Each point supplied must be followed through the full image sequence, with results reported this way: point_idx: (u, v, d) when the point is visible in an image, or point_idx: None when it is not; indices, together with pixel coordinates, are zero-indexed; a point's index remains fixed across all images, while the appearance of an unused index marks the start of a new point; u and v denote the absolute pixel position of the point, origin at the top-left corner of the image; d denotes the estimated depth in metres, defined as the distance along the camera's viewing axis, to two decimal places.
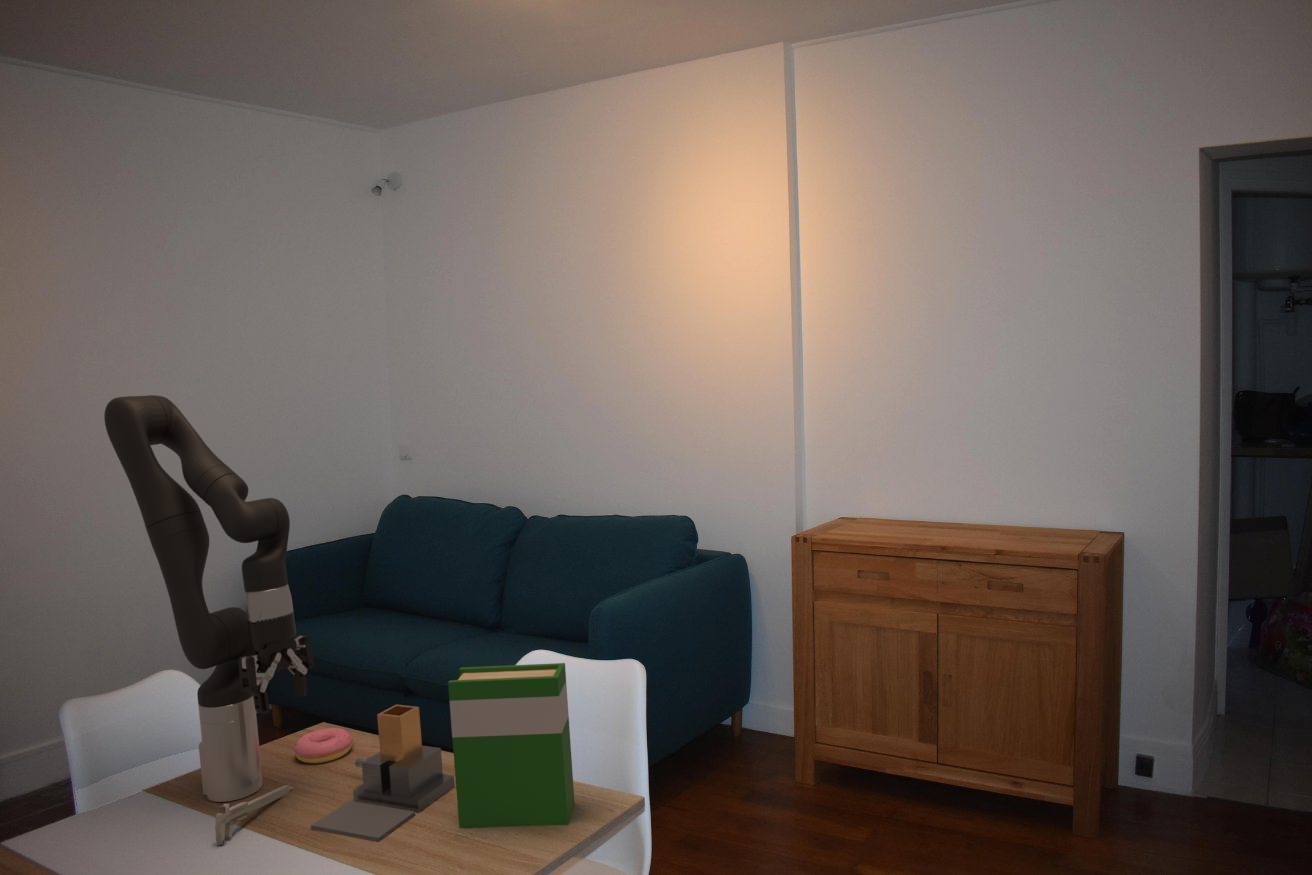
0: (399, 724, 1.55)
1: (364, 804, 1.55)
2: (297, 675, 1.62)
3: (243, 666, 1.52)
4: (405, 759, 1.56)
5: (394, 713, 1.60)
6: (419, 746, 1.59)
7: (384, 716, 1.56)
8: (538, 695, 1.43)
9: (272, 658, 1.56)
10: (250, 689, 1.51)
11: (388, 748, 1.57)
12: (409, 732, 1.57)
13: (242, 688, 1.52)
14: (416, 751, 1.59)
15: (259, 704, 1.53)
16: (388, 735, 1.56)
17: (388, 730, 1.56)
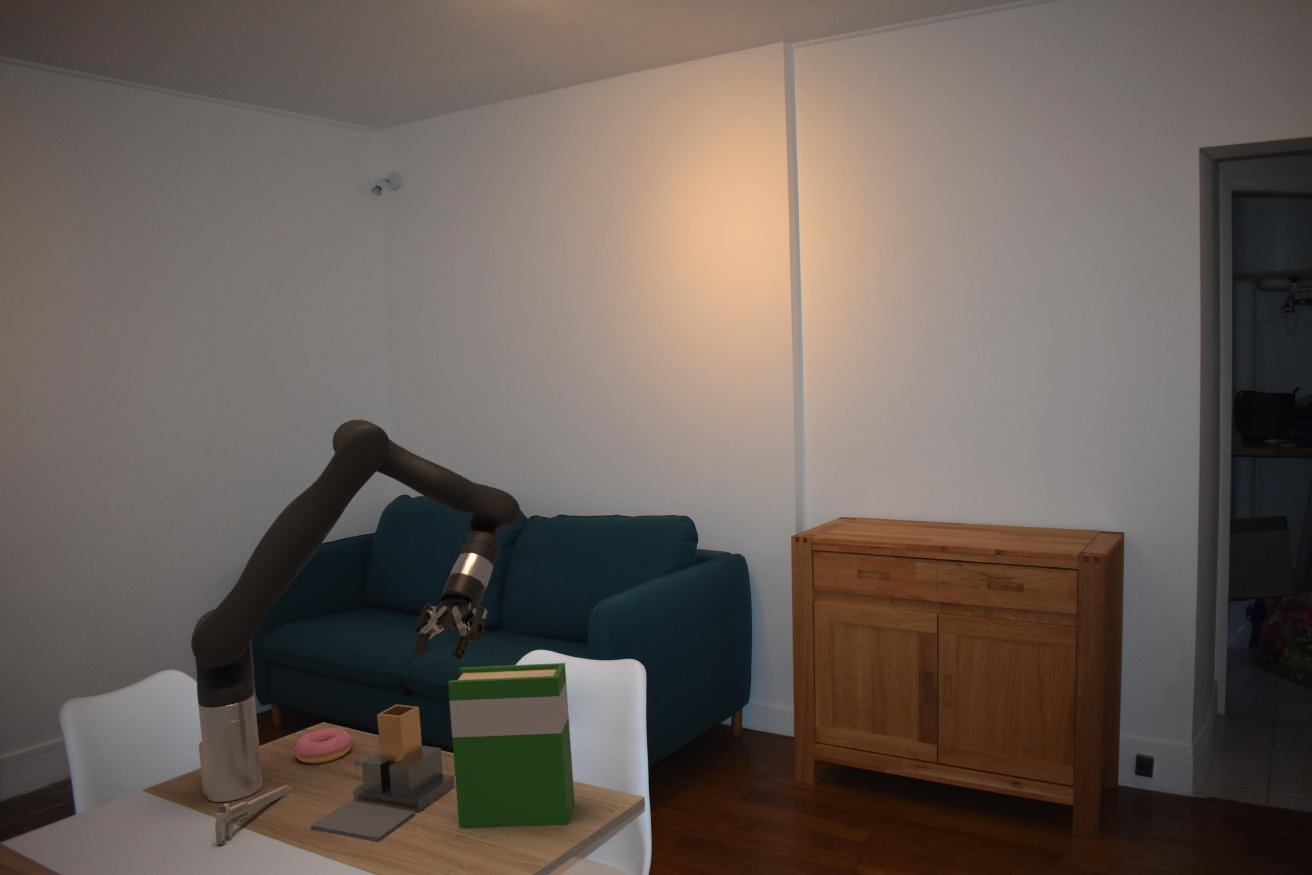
0: (399, 724, 1.55)
1: (364, 804, 1.55)
2: (427, 637, 1.72)
3: (483, 615, 1.71)
4: (405, 759, 1.56)
5: (394, 713, 1.60)
6: (419, 746, 1.59)
7: (384, 716, 1.56)
8: (538, 695, 1.43)
9: None
10: (480, 636, 1.69)
11: (388, 748, 1.57)
12: (409, 732, 1.57)
13: (475, 631, 1.68)
14: (416, 751, 1.59)
15: (464, 650, 1.68)
16: (388, 735, 1.56)
17: (388, 730, 1.56)
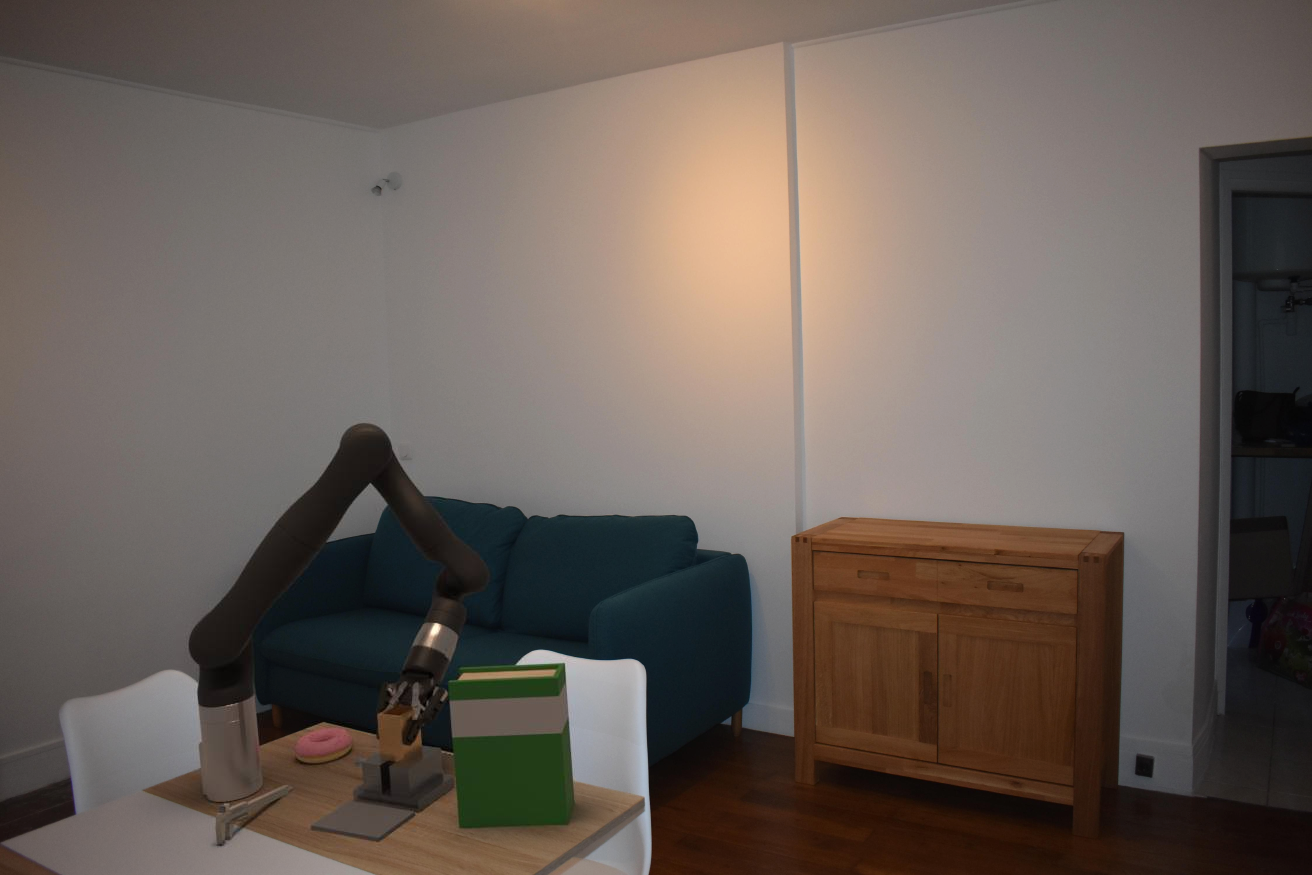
0: (399, 724, 1.55)
1: (364, 804, 1.55)
2: None
3: (442, 698, 1.59)
4: (405, 759, 1.56)
5: (394, 713, 1.60)
6: (419, 746, 1.59)
7: (384, 716, 1.56)
8: (538, 695, 1.43)
9: None
10: (433, 720, 1.58)
11: (388, 748, 1.57)
12: None
13: (428, 715, 1.57)
14: (416, 751, 1.59)
15: (416, 735, 1.57)
16: (388, 735, 1.56)
17: (388, 730, 1.56)
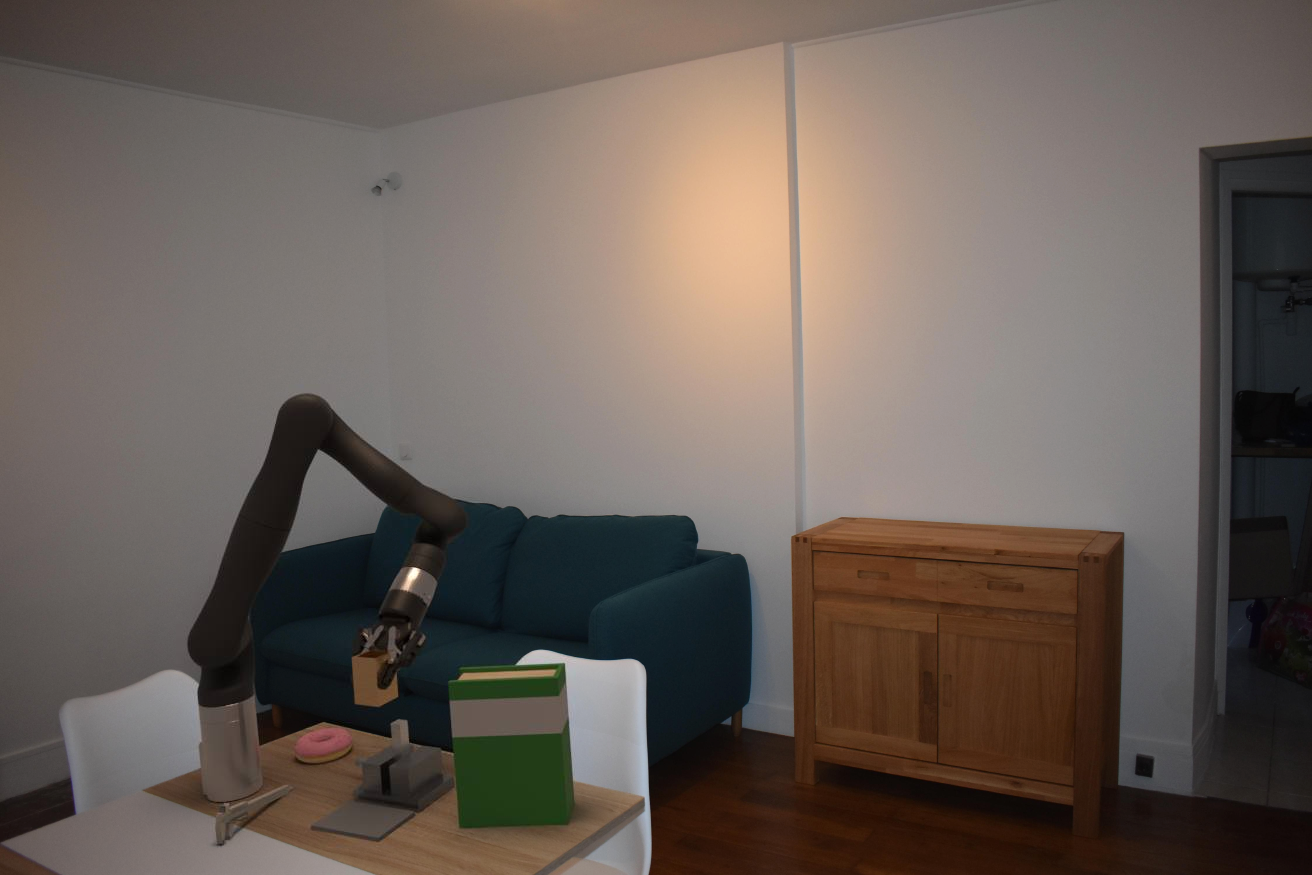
0: (374, 667, 1.50)
1: (364, 804, 1.55)
2: None
3: (419, 642, 1.55)
4: (380, 703, 1.51)
5: (369, 657, 1.55)
6: (395, 691, 1.55)
7: (359, 659, 1.51)
8: (538, 695, 1.43)
9: None
10: (409, 664, 1.53)
11: (363, 692, 1.52)
12: None
13: (404, 659, 1.52)
14: (392, 696, 1.54)
15: (392, 679, 1.52)
16: (363, 678, 1.51)
17: (363, 673, 1.51)
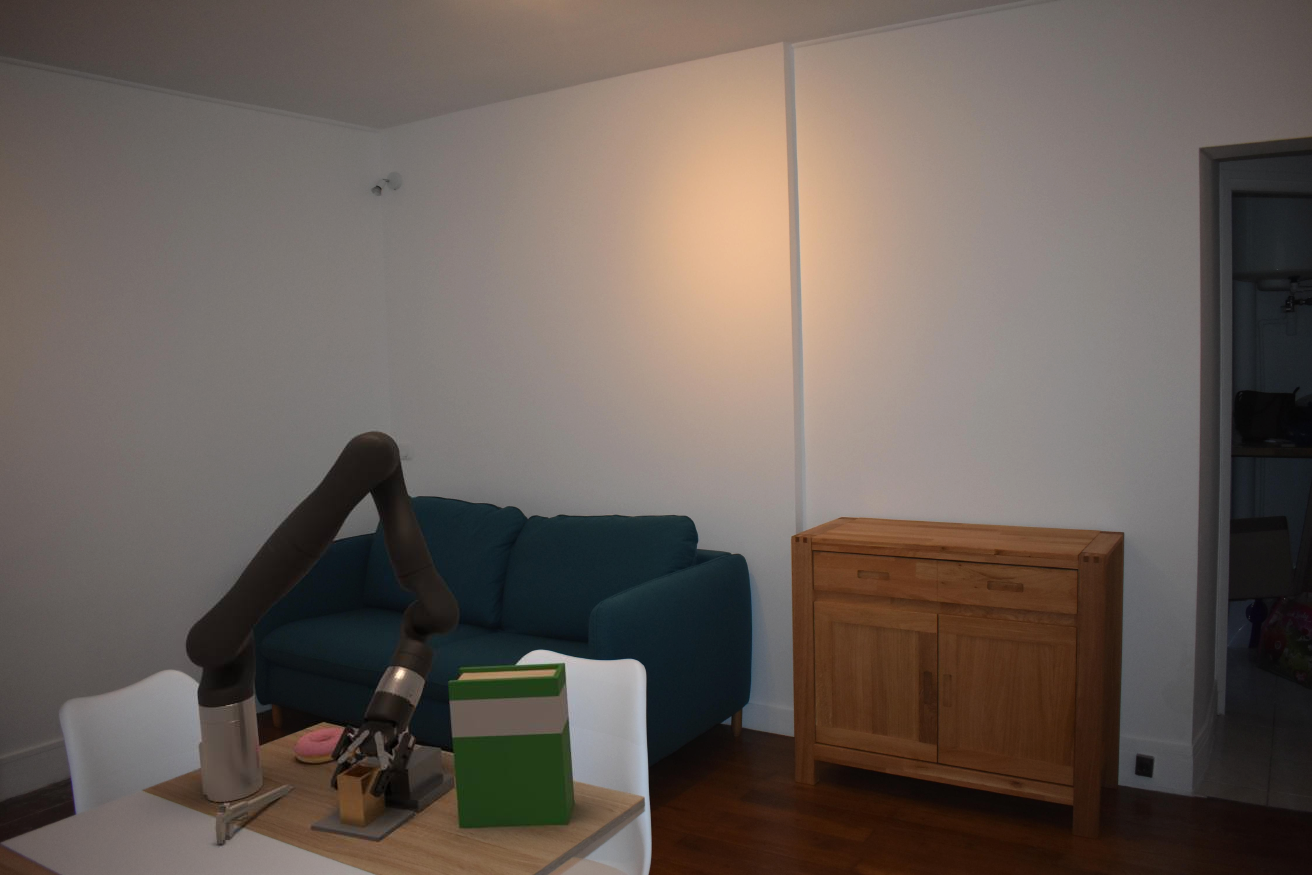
0: (360, 787, 1.46)
1: None
2: (346, 766, 1.52)
3: (410, 744, 1.51)
4: (366, 823, 1.47)
5: (356, 773, 1.51)
6: (382, 808, 1.50)
7: (344, 778, 1.47)
8: (538, 695, 1.43)
9: None
10: (404, 769, 1.49)
11: (348, 811, 1.48)
12: (371, 795, 1.48)
13: (399, 763, 1.48)
14: (379, 814, 1.50)
15: (385, 785, 1.47)
16: (348, 798, 1.47)
17: (348, 792, 1.47)
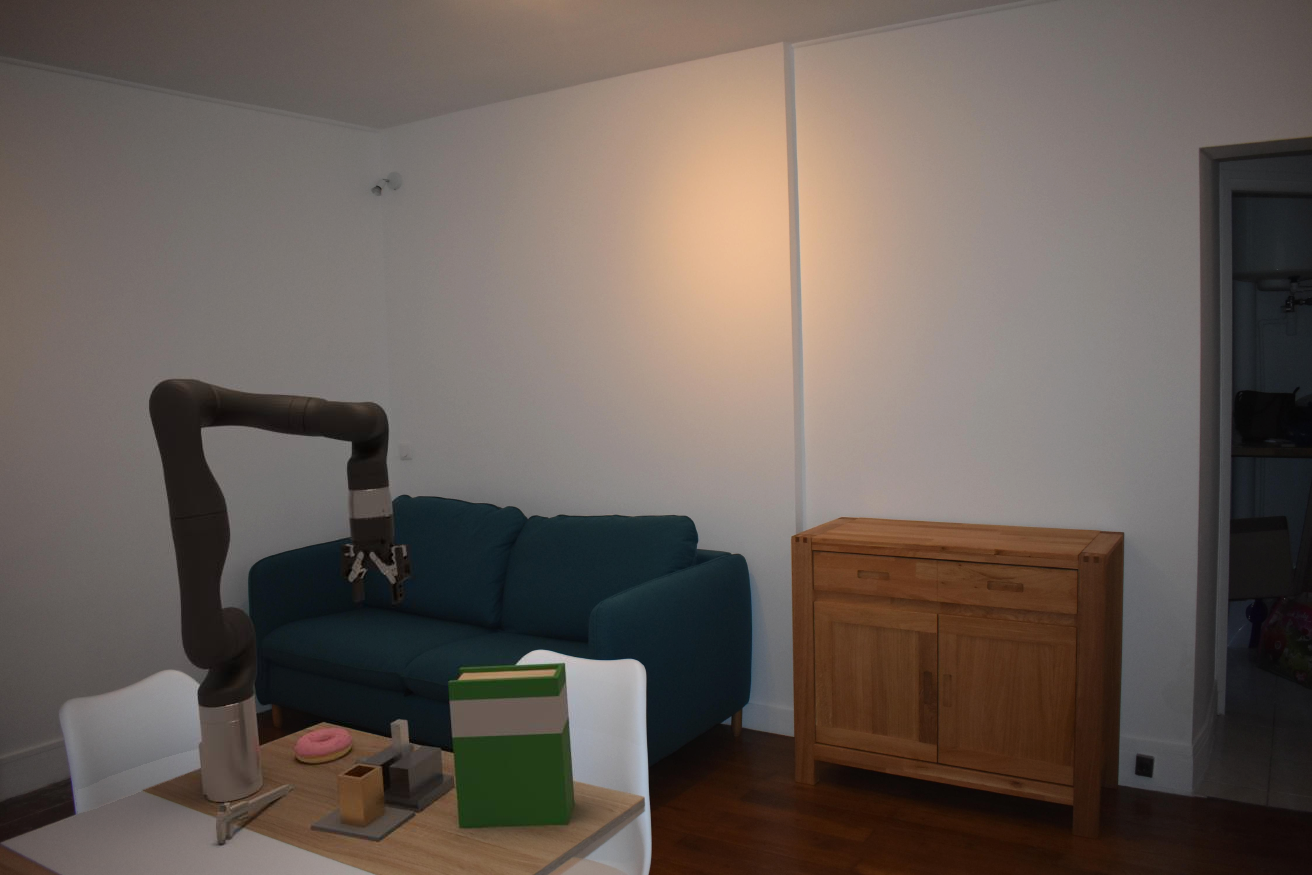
0: (360, 787, 1.46)
1: None
2: (358, 580, 1.65)
3: (404, 554, 1.60)
4: (366, 823, 1.47)
5: (356, 773, 1.51)
6: (382, 808, 1.50)
7: (344, 778, 1.47)
8: (538, 695, 1.43)
9: None
10: (411, 574, 1.61)
11: (348, 811, 1.48)
12: (371, 795, 1.48)
13: (404, 575, 1.59)
14: (379, 814, 1.50)
15: (402, 592, 1.61)
16: (348, 798, 1.47)
17: (348, 792, 1.47)
